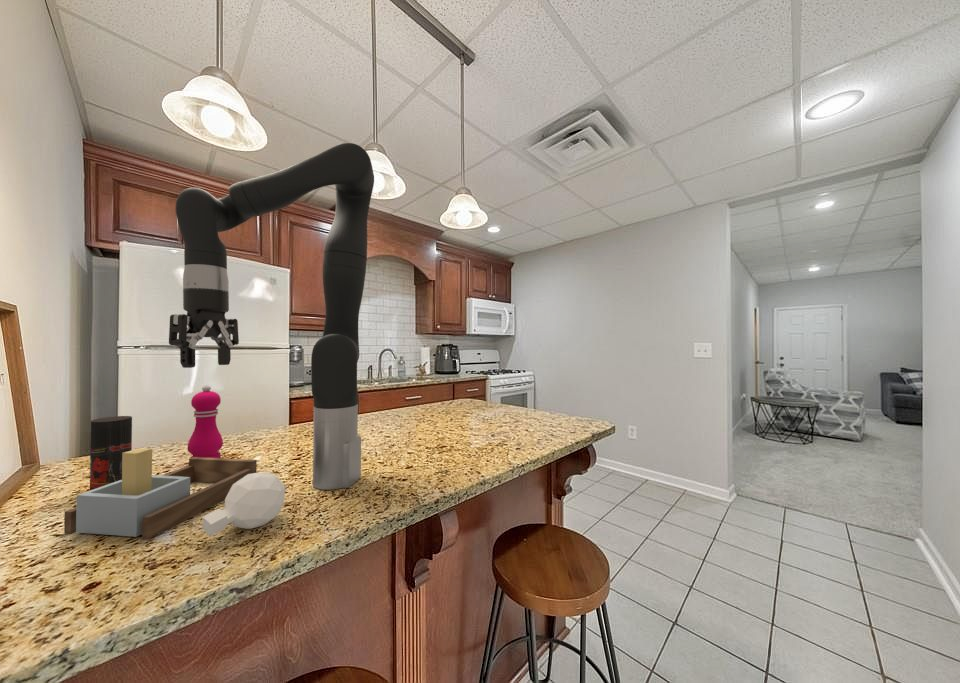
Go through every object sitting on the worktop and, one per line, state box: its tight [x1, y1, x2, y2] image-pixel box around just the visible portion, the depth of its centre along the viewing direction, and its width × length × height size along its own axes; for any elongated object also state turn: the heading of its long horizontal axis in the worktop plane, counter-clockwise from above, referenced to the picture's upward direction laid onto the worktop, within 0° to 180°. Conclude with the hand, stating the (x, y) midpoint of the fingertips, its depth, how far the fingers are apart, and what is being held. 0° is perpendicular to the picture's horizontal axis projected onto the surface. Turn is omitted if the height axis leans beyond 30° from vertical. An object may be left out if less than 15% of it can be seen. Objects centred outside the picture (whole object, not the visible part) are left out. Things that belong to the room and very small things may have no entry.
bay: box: [63, 457, 258, 540], centre depth 66 cm, size 15×23×5 cm
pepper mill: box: [187, 385, 224, 459], centre depth 90 cm, size 7×7×20 cm
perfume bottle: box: [201, 471, 286, 537], centre depth 58 cm, size 9×9×12 cm
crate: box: [75, 447, 191, 538], centre depth 60 cm, size 11×9×12 cm
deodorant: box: [89, 415, 133, 491], centre depth 72 cm, size 6×6×15 cm
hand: (207, 366), depth 72 cm, fingers open, 8 cm apart
